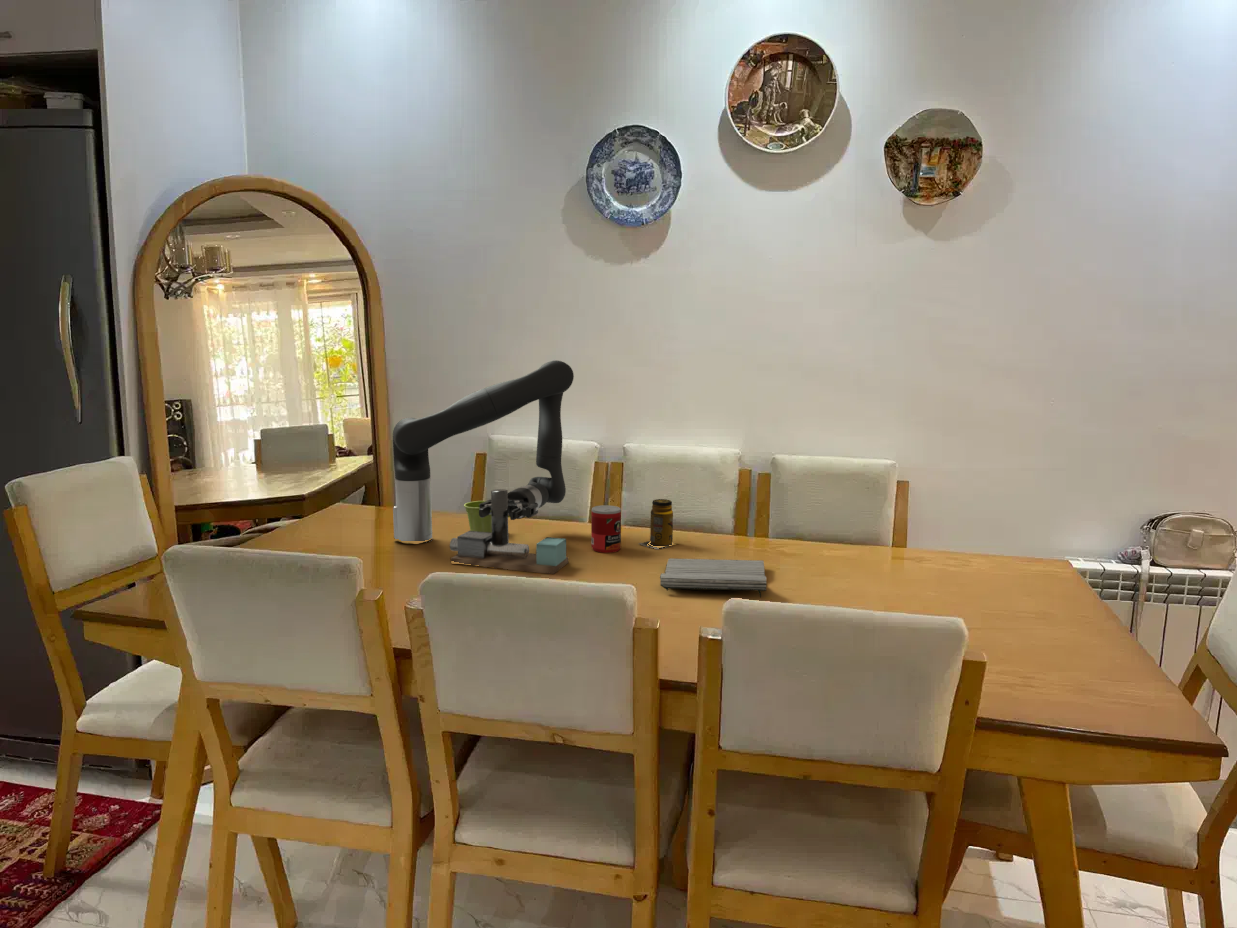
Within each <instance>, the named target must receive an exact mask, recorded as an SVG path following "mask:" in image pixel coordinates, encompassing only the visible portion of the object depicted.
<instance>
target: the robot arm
mask: <svg viewBox="0 0 1237 928" xmlns="http://www.w3.org/2000/svg"><path fill="white" fill-rule="evenodd" d="M574 375H575V374H574V370H573V368H572V367H571V366H570V365H569V364H568V363H567V362H565V361H561V360H555V359H554V360H551V361H548V362H545V363H544V364H541V366H540V367H539V368H538V369H536V370H534V371H532V372H530V373H527V374H525V375H523V376H520V377H518V378H515V379H511V380H506V381H503V382H499V383H496V384H493V385H489V386H486V387H483V388H481V389H479V390H477V391H474V392H472V393H470V394H467V395H465V396H463V397H462V398H460V399H459V400H457V401H455V402H454V403H452V404H451V405H449V406H447V407H446V408H444V409H443V410H440V411H438V412H435V413H433V414H429V415H426V416H425V417H421V418H420V417H419V418H415V417H406V418H403V419H401V420H399V421H398V422H397V423H396V424H395V426H394V428H393V430H392V450H393V451H392V452H393V468H394V480H395V481H394V483H395V485H394V486H395V505H394V506H393V508H392V514H393V515H392V516H393V517H392V518H393V519H392V521H393V538H395V539H399V540H401V541H425V540H429V539H431V538H432V539H433V517H432V513H433V511H432V486H431V481H432V479H431V467H430V465H431V464H430V459H429V458H430V457H429V449H430V448H432V447H434V446H436V445H438V444H439V443H441V442H443V441H445V440H447V439H449V438H452V437H455V436H456V435H459V434H462V433H466V432H469V431H472V430H475V429H477V428H480V427H483V426H485V425H488V424H490V423H493V422H495V421H498V420H500V419H502V418H504V417H506V416H508V415H510V414H512V413H514V412H515V411H518V410H519V409H521V408H523V407H525V406H527V405H528V404H530V403H533V402H536V401H538V431H537V441H536V457H535V458H536V459H535V464H536V466H537V467H538V468H539V469H542V470H543V469H544V470H546V471H548V473H549V474H550V476H551V477H546V476H534V477H532V478H531V479H530V480H529V481H528V482H527V483H528V484H526V485H523V486H520V487H517V488H515V489H512V490H510V491H508V517H510V518H509V519H510V521H515V520H520V519H521V520H522V519H523V518H527V519H530V518H533V517H534V516H535V515H538V514H539V509H540V508H543V506H544V505H545V504H546V503H550V504H559V503H561V502H562V501H563V500H564V499H565V497H566V493H567V491H566V490H567V489H566V483H565V479H564V478H565V477H564V475H563V474H564V473H563V467H562V456H563V455H562V453H563V452H562V451H563V431H562V430H563V428H562V418H561V417H562V416H561V411H562V410H561V409H562V401H563V396H564V393H565V392H566V391H567V390H569V389H570V388H571V386H572V384H573V382H574V377H575V376H574ZM484 501H485V502H483V503H480V504H479V516H480V517H481V518H484V517H486V516H488V515H491V514H492V513H491V512H490V511H491V499H488V500H484Z"/></svg>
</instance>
